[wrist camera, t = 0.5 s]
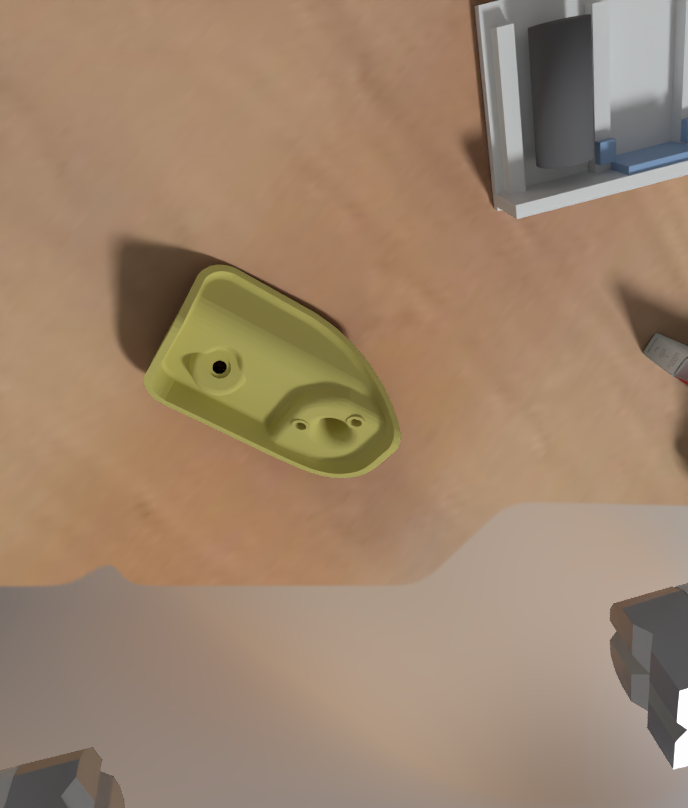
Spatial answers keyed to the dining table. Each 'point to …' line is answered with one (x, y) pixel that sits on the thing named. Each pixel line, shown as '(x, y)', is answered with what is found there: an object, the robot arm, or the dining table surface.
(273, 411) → the plastic component
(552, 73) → the gray roller in tray
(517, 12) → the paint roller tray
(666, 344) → the ink box
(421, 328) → the dining table surface
